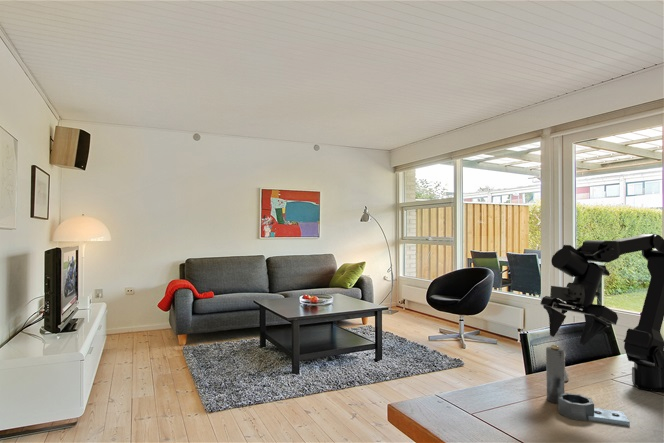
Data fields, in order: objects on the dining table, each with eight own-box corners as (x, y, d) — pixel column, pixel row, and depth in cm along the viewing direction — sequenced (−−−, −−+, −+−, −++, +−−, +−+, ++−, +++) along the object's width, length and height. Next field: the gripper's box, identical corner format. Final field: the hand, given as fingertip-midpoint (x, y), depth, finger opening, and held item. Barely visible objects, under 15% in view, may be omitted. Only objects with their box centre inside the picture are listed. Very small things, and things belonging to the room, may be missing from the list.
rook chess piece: (571, 382, 120) (570, 354, 120) (554, 381, 121) (553, 353, 121) (565, 377, 124) (565, 349, 125) (549, 376, 125) (549, 349, 125)
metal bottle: (563, 399, 108) (562, 344, 108) (565, 404, 104) (564, 348, 105) (546, 396, 110) (545, 343, 110) (547, 402, 106) (546, 347, 106)
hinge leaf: (622, 414, 99) (621, 399, 99) (630, 427, 92) (630, 411, 92) (557, 405, 104) (556, 391, 104) (560, 417, 97) (560, 402, 97)
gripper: (535, 268, 117) (516, 321, 115) (596, 274, 100) (575, 336, 97) (564, 285, 120) (546, 336, 118) (628, 293, 103) (608, 354, 100)
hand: (566, 340), depth 108 cm, fingers open, 9 cm apart
